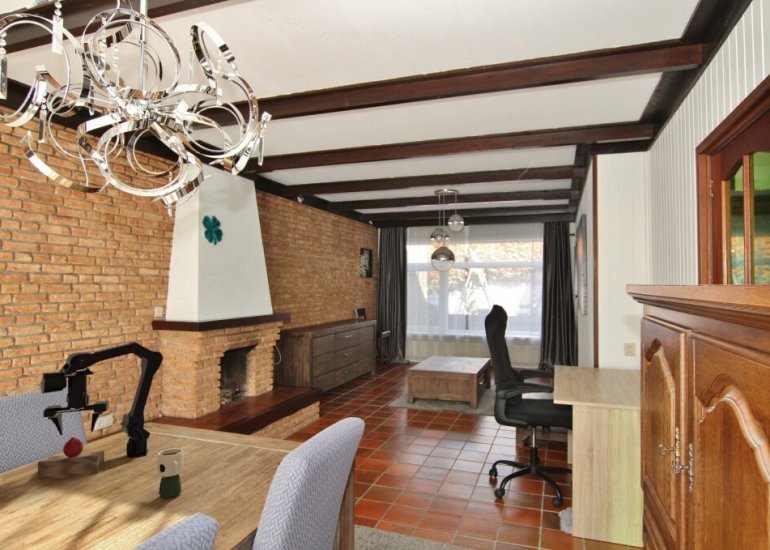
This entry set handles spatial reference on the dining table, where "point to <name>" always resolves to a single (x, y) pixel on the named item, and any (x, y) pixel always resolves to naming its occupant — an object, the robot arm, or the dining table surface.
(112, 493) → the dining table surface
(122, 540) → the dining table surface
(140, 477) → the dining table surface
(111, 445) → the dining table surface
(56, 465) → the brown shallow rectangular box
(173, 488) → the character mug
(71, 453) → the onion
